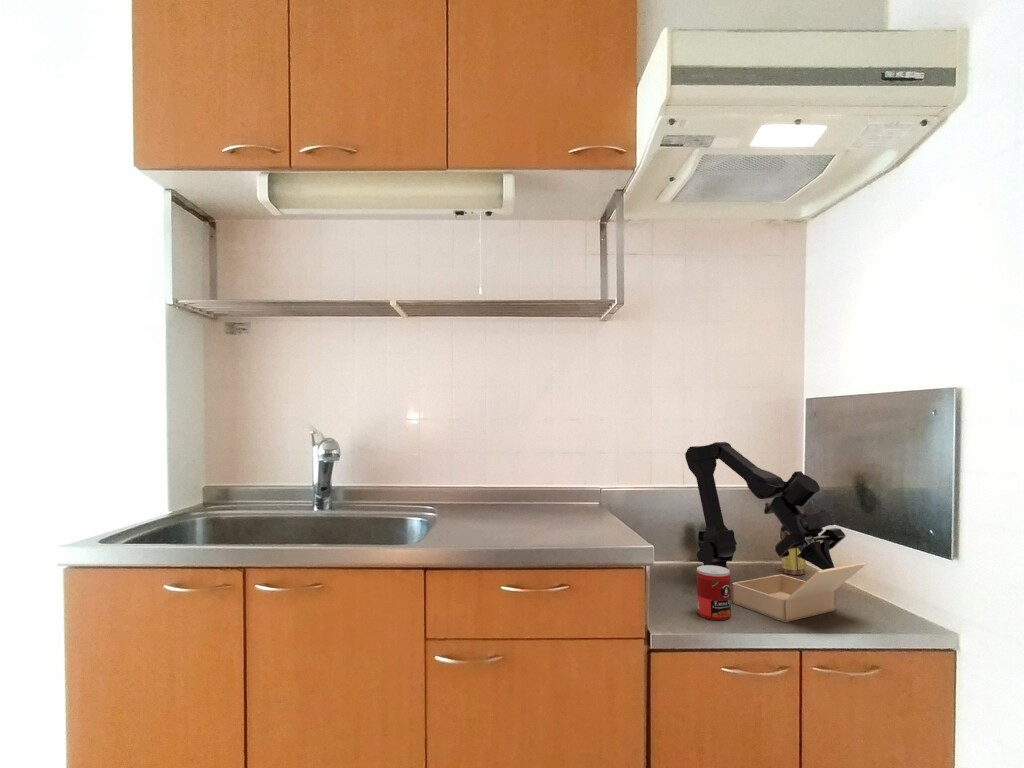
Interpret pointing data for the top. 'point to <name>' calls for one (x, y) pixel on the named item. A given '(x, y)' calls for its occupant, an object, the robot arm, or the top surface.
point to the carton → (780, 598)
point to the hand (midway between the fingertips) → (833, 573)
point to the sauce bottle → (792, 560)
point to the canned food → (713, 592)
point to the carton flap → (826, 581)
